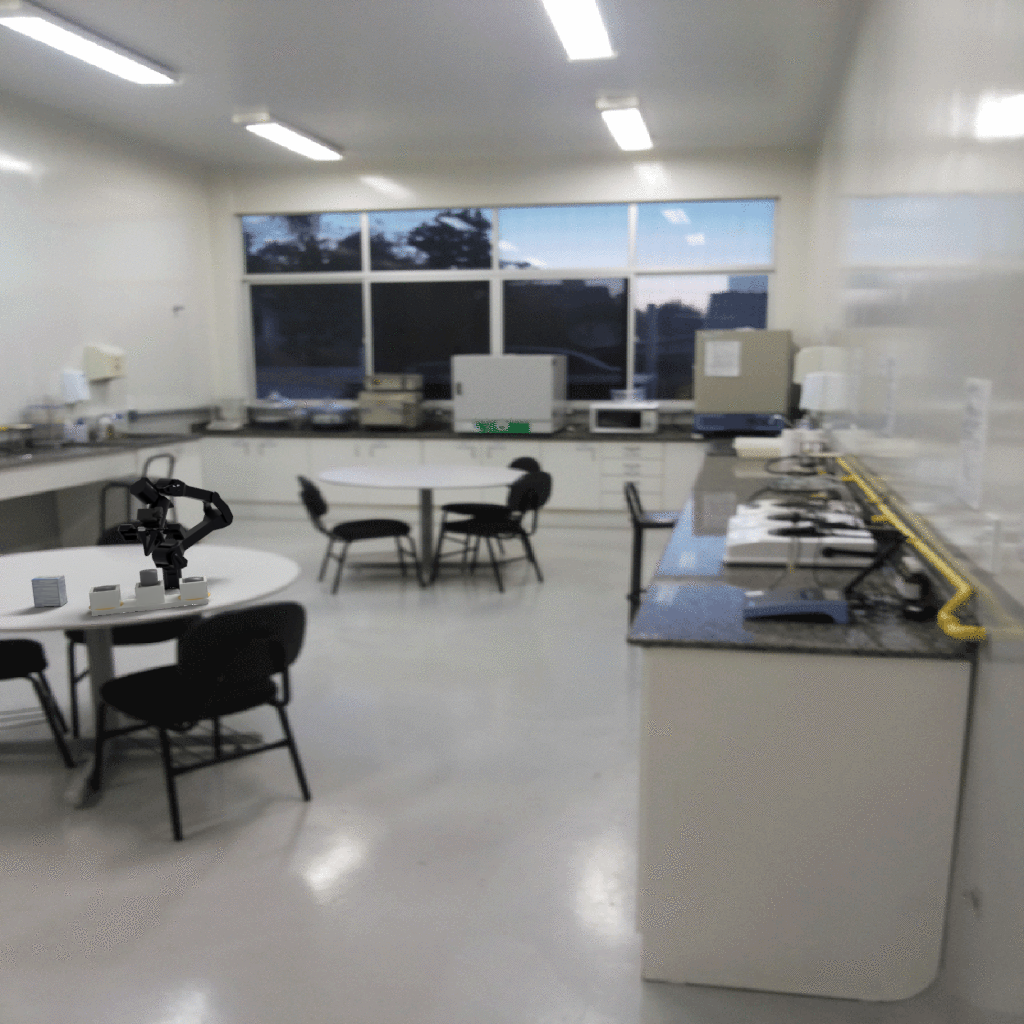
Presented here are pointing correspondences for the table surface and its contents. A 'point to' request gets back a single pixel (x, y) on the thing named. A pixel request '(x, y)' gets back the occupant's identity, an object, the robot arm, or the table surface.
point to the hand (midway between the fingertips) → (146, 555)
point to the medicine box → (49, 590)
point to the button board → (148, 598)
